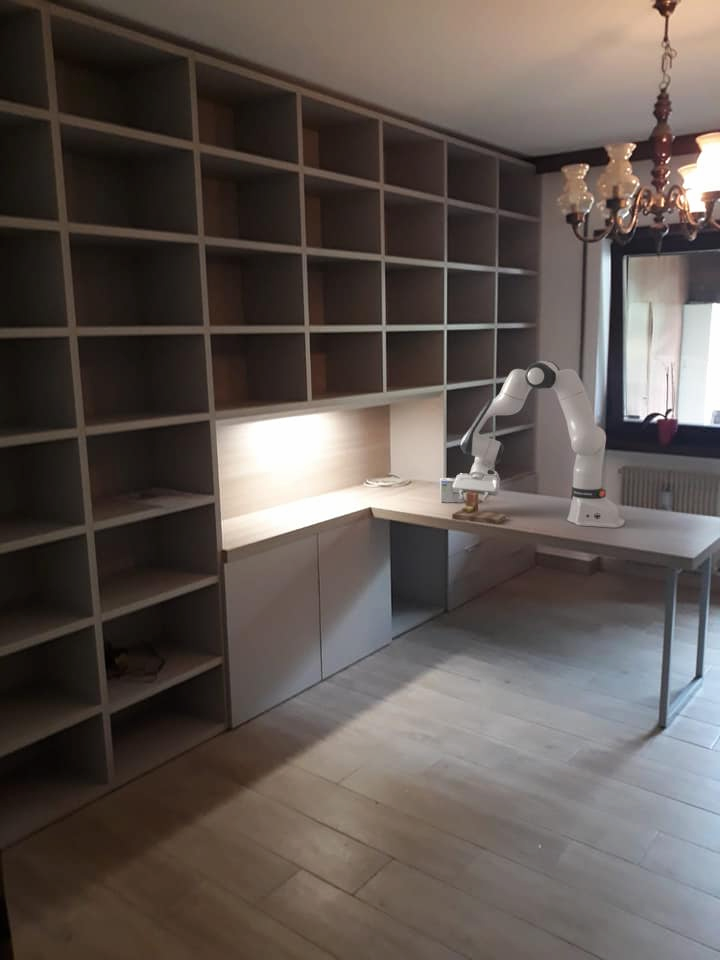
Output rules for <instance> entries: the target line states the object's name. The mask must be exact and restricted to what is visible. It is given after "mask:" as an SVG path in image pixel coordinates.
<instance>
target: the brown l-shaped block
mask: <svg viewBox="0 0 720 960" xmlns="http://www.w3.org/2000/svg"><path fill="white" fill-rule="evenodd" d="M461 510H462V512H466V513H470V512H471V511H479V494H478V493H473V492H469V493H465V506H464V507H462V509H461Z"/></svg>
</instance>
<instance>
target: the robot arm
mask: <svg viewBox="0 0 720 960" xmlns="http://www.w3.org/2000/svg"><path fill="white" fill-rule="evenodd" d="M550 388H551V389H553V391H555V393H556V396H557V398H558V402H559V404H560V407H561V409H562V411H563V416H564V418H565V421H566V426H567V430H568V431H567V432H568V436H569V438H570V442H571V444H570V445H571V448H572V450H573V451H574V453H575V454H576V456H575V462H574V464H573V476H572V477H573V478H572V479H573V480H572V486H571V491H570V499H571V502H570V508H569V513H568V516H567V517H566V518H567V521H568V522H569V523H573V524H575V525H577V526H583V527H584V526H585V527H599V528H614V529H616V528H621V527H622V526H624V525H625V519H624V518H621V517H620V513H619V509H618V506H616V505H615V504H614V503H613V502H612V501H611V500H609V499H608V498H607V497H606V495H607V494H606V493H607V489H606V488H605V489H604V488H602V475H603V473H602V471H603V463H604V457H605V451H606V450H605V449H606V441H607V436H606V431H604V429H603V428H601V427H600V426H597V425H596V421H595V417H594V413H593V407H592V405H591V402H590V399H589V396H588V393H587V391H586V389H585V386H584V384H583V382H582V379H581V377H579V375H578V373H577V372H576V370H575V369H572V368H564V369H561V370H560V368H559V366H558V365H557V364H556V363H554V362H552V361H548V360H547V361H546V360H542V361H541V360H539V361H537V362H533V363H532V364H530V365H528V367H527V368H526V370H525V369H521V368H515V369H512V370H511V371H510V372H509V374H508V376H507V378H506V379H505V381H504V382H503V385H502V387H501V389H500V392H499V394H497V395H496V396H495V397H494V398H492V399H491V398H490V399H488V400H487V401H486V403H485V404H484V406H482V408H481V411H480V412H479V413H478V415H477V417H476V418H475V419H474V422H472V425H471V426H470V427H469V429H468V430H467V432H466V433H465V434H464V435H463V436H462V439H461V441H460V448H461V450H462V452H463V454H465V455H469V456H473V457H474V462H473V463H472V466H471V468H470V472H469V473H467V472H466V473H463V472H460V473H458V474H457V475H456V477H455V478H456V480H455V481H454V484H453V489H454V491H455V492H459V493H460V498H459V499H460V500H462V501H463V500H464V499H465V496H463V495H462V494H463V493H465V494H467V493H469V492H473V493H478V495H482V496H481V497H480V500H479V502H480V503H483V504H485V501H486V500H487V499H488V498H489V497H490V496H494V497H495V496H498V495H499V492H500V489H501V488H500V486H501V484H500V482H501V478H500V476H499V473H498V472H497V471H496V470H493V467H494V466H496V465H497V464H499V463H500V462H501V461H502V457H503V454H504V453H503V452H504V451H505V448H504V445H503V442H501V441H499V440H496V439H494V438H490V437H488V436H485V435H483V434H480V433H479V432H480V431H481V429H482V428H483V426H484V425H485V423H486V422H487V420H488V419H489V418H491V417H494V416H510V415H515V414H517V413H518V412H519V411H521V409H522V408H523V406H524V405H525V402H526V400H527V397H528V395H529V393H530V391H531V390H532V389H536V390H542V389H550Z"/></svg>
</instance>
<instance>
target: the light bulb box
mask: <svg viewBox="0 0 720 960" xmlns="http://www.w3.org/2000/svg"><path fill="white" fill-rule="evenodd" d="M455 480H456V477H440V478H439V497H440V498H439V501H441V502H440V504H443V503H442V502H463V503H464V500H463V501H462V500H460V499H459V498H460V493H459V492H455V491H454V489H453V484H454V481H455ZM462 495H463V496H464V493H463V494H462ZM464 497H465V496H464Z"/></svg>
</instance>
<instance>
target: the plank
mask: <svg viewBox="0 0 720 960" xmlns="http://www.w3.org/2000/svg"><path fill="white" fill-rule="evenodd" d="M451 519H452V520H458V521H465V520H469V521H468V522H474V521H476V523H482V522H485V523H484V524H491V523H493V524H492V525H499V524H500V522H501V521H502V522H504V521H505V520H506V519H507V515H506V514H505V513H495V512H487V511H479V510H478V511H471V512H470V513H466V512H462V509H459V510H457V511H455V512H454V513H452V514H451ZM504 519H505V520H504ZM503 520H504V521H503ZM502 522H501V523H502Z"/></svg>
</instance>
